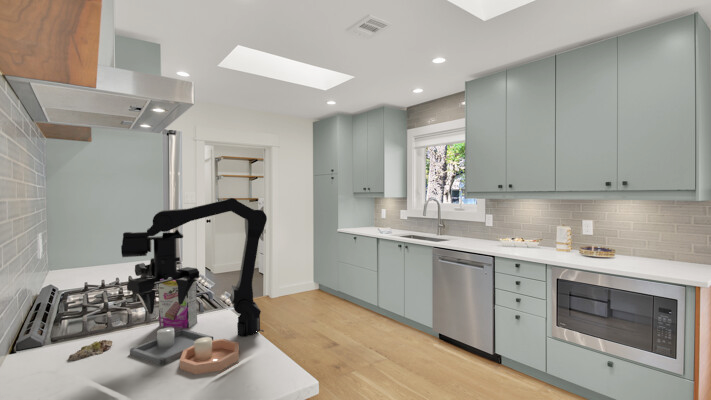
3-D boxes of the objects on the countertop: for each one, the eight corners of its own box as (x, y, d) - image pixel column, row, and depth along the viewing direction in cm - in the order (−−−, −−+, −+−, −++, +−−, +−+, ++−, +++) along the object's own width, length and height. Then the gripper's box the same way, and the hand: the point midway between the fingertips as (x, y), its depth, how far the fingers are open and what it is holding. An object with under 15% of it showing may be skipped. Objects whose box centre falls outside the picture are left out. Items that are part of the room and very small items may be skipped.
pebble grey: (168, 341, 106) (168, 326, 106) (178, 343, 104) (177, 328, 103) (154, 346, 102) (153, 331, 102) (163, 349, 100) (163, 334, 100)
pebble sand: (204, 351, 98) (204, 336, 98) (216, 354, 96) (215, 338, 96) (191, 358, 94) (190, 342, 94) (202, 362, 92) (201, 345, 92)
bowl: (214, 346, 103) (214, 336, 103) (250, 356, 97) (249, 345, 97) (169, 368, 91) (169, 356, 91) (207, 381, 85) (206, 368, 84)
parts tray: (182, 335, 112) (182, 328, 111) (213, 343, 105) (213, 336, 105) (130, 357, 97) (129, 349, 97) (162, 368, 91) (161, 360, 91)
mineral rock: (100, 337, 106) (116, 334, 103) (103, 351, 106) (120, 349, 102) (58, 354, 96) (74, 351, 93) (62, 370, 96) (78, 367, 93)
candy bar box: (158, 328, 117) (156, 279, 117) (168, 323, 122) (167, 275, 122) (188, 331, 115) (187, 280, 115) (198, 325, 120) (196, 277, 119)
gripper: (175, 247, 113) (176, 296, 113) (114, 257, 96) (115, 314, 97) (200, 250, 108) (200, 301, 109) (139, 261, 91) (140, 321, 92)
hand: (166, 308), depth 102 cm, fingers open, 9 cm apart
